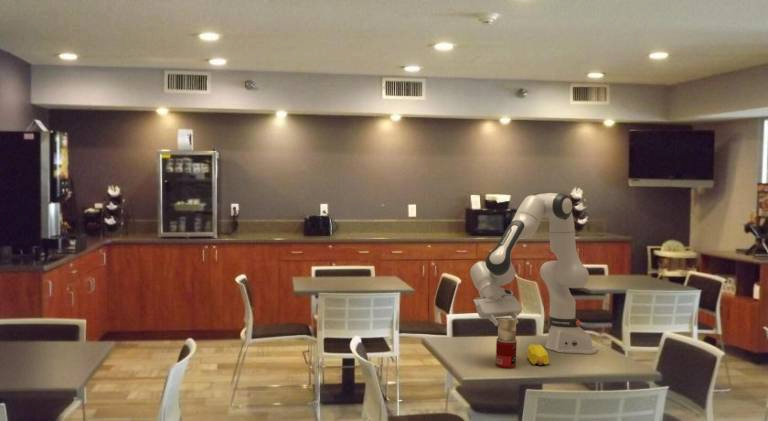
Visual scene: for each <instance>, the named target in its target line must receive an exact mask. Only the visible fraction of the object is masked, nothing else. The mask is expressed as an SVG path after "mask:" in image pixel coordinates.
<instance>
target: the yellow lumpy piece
mask: <svg viewBox="0 0 768 421" xmlns="http://www.w3.org/2000/svg"><path fill="white" fill-rule="evenodd" d="M526 356H527V357H528V360H529V362H530V363H531V364H532V365H533V366H534V365H536V364H537V365H538V366H542V365H543V366H547V365H548V364H549V363H550V360H549V354H548V351H547V349H546V348H544V347H543V346H542V345H541V344H533V343H531V344H530V345H529V346H528V347H527V352H526Z"/></svg>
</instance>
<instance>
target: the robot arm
mask: <svg viewBox="0 0 768 421" xmlns="http://www.w3.org/2000/svg"><path fill="white" fill-rule="evenodd" d="M573 206H574V204H573V200H572V197H570V196H569V195H567V194H565V193H556V192H555V193H554V192H546V193H535V194H531V195H528V196H526V197H525V198H524V199H523V201H522V202H521V204H520V205H519V207H518V209H516V212H515V214H514V216H513V218H512V220H511V222H510V224H509V225H508V226H507V228H506V229H505V231H504V232H503V234H502V236H501V238H500V239H499V241H498V243H497V245H496V246H495V247H494V248H493V249H492V250H491V251H490V252H489V253H488V254H487V255H486V258H485V261H484V260H483V261H481V260H480V261H477V262H476V263H474V264H473V265H472V266H471V268H470V270H469V275H470V278H471V281H472V283H473V285H474V287H475V289H476V290H477V291H478V295H479V296H480V297H478V296H477V297H475V298H474V299H473V304H474V305H475V309H476V312H477V314H478V316H479V318H480V319H488V320H489V321H490V322H492V323H493V325H494V326H495V327H498V326H499V325H500V322H499V320H498V319H497V318H506V317H511V319H515V320H516V325H517V324H519V320H518V316H519V315H520V314H521V313H522V311H523V308H522V306H521V303H520V302H519V301H518V299H517V297H516V296H514V292H513V291H512V290H510V289H507V288H503V286H506V285H509V284H511V283H512V282H514V280H515V278H516V274H517V273H516V269H515V267H514V264H513V263H512V261H511V260H512V259H511V258H512V257H511V254H512V252H513V249H514V248H515V247H516V244H517V243H518V241H519V239H529V238H532V237H533V236H534V235H535V234H536V232H537V230H539V229H538V228H539V227H540V224H541V222H542V219H548V220H549V224H548V225H549V231H548V232H549V247H550V251H551V252H552V253H553V254H554V255H555V257H556V260H550V261H546V262H544V263H543V264H542V265H541V267H540V271H539V274H540V276H539V277H540V278H541V280H543V282H544V284H545V286H546V288H547V291H548V294H549V295H548V296H549V309H550V310H549V317H548V335H547V340H546V343H545V349H546V350H547V349H548V350H551V351H555V352H558V353H568V354H583V355H584V354H586V355H588V354H589V355H593V354H596V353H597V352H598V348H597V347H596V346H593V341H592V337H591V335H590V334H589V333H588V332H586V331H585V330H584V329H583V328H581V327H580V324H581V321H580V319H579V318H577V317H576V305H577V302H576V298H575V297H573V294H572V293H571V291H570V289H579V288H584V287H585V286H587V284H588V283H589V279H590V274H589V270H588V269H587V267H586V266H585V265H584V264H583V263H582V261H581V259H580V257H579V253H578V251H577V247H576V246H577V244H576V230H575V228H576V227H575V222H574V221H575V220H574V216H573V208H574V207H573Z"/></svg>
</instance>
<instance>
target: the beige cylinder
mask: <svg viewBox="0 0 768 421" xmlns="http://www.w3.org/2000/svg"><path fill="white" fill-rule="evenodd" d="M497 320H499V322H500V325H499V326H497V338H498V339H502V340H505V341H508V340H516V341H517V339H516V338H517V324H516V320H515V319H513V318H512V317H511V318H510V317H498V319H497Z"/></svg>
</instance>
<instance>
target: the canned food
mask: <svg viewBox="0 0 768 421" xmlns="http://www.w3.org/2000/svg"><path fill="white" fill-rule="evenodd" d="M517 346H518V345H517V339H516V340H508V341H505V340H502V339H498V337H496V347H495V365H496V367H497V368H499V369H515V368H516V365H517Z"/></svg>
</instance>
